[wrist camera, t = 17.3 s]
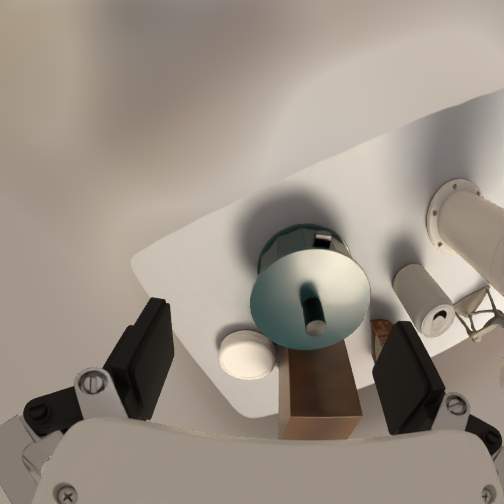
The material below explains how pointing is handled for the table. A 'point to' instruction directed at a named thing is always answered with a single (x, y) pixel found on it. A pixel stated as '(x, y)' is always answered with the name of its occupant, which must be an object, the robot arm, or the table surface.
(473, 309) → the figurine
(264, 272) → the lid
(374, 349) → the food container
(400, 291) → the beverage can
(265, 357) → the white short cylinder
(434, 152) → the table surface
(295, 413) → the stand
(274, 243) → the pot
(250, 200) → the table surface
